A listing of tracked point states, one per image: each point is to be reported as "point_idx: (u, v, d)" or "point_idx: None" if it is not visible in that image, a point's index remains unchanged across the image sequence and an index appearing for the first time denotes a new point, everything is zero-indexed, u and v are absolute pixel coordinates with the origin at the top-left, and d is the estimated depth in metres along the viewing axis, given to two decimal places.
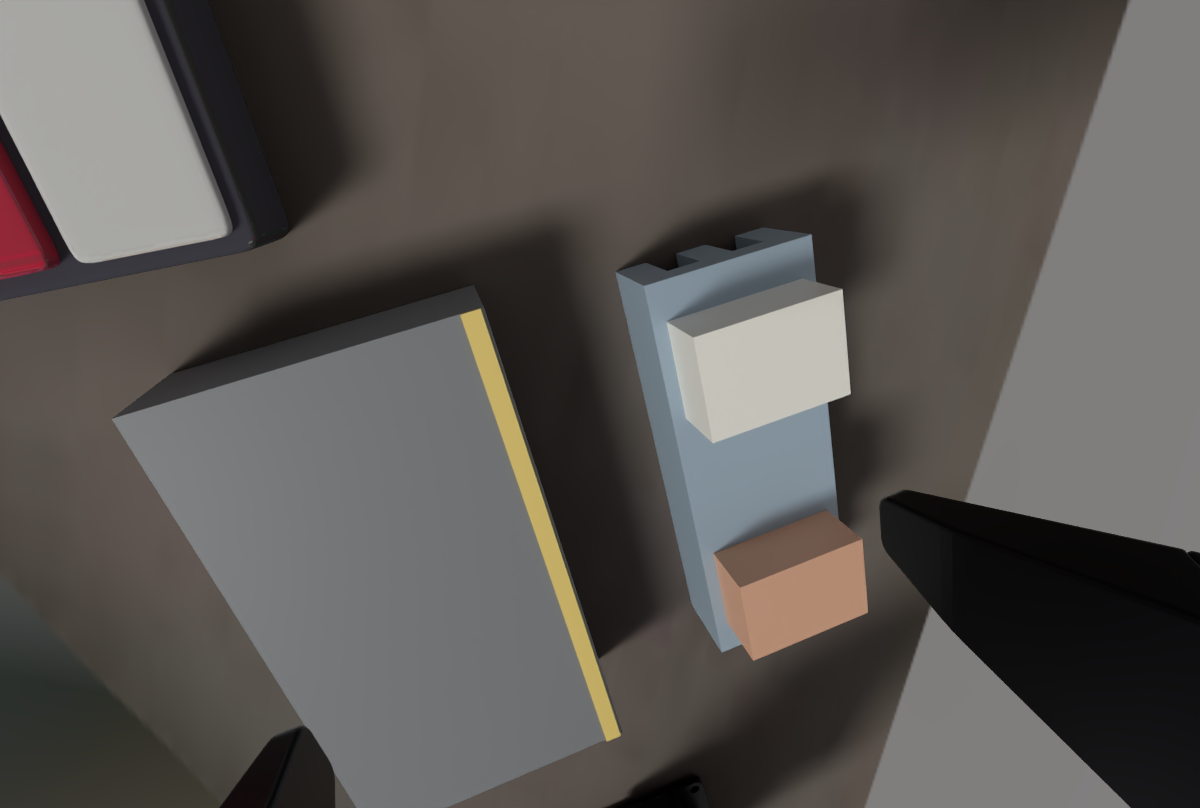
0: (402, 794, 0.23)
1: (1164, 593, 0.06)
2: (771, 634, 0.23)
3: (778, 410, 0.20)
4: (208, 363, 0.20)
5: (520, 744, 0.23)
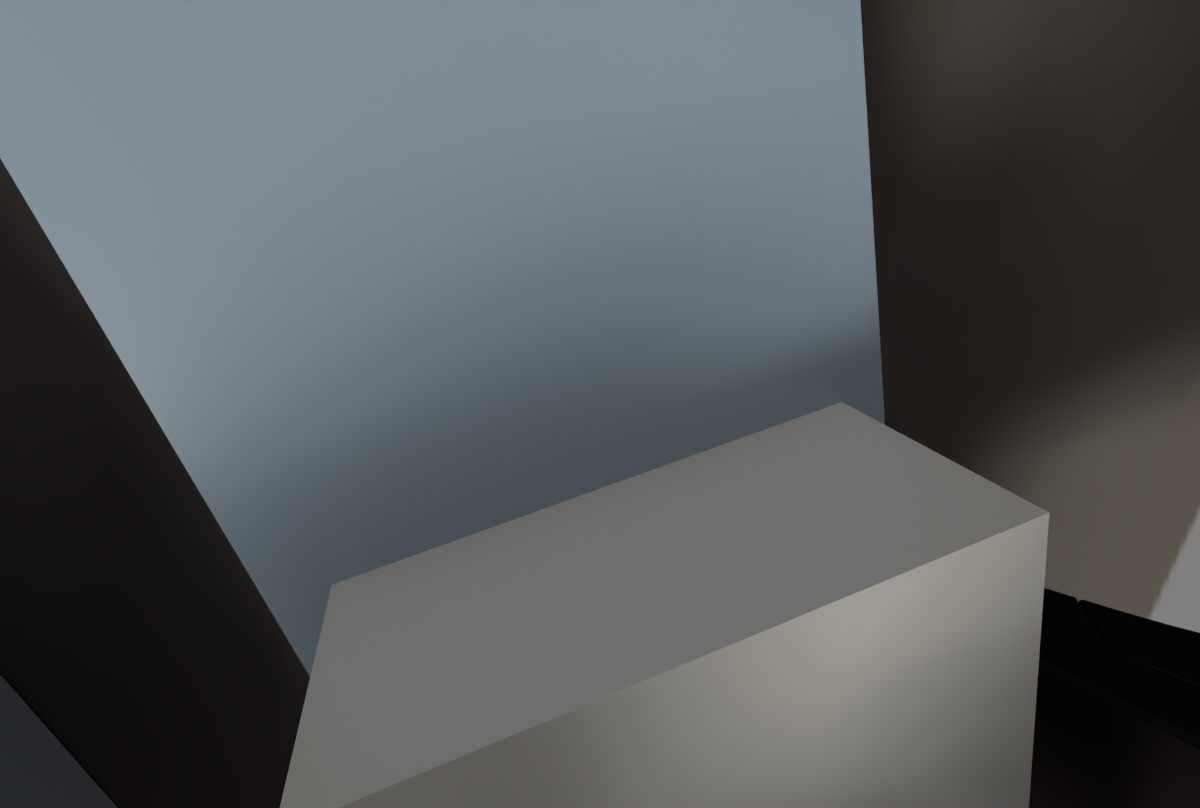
0: None
1: (1045, 647, 0.06)
2: None
3: None
4: None
5: None
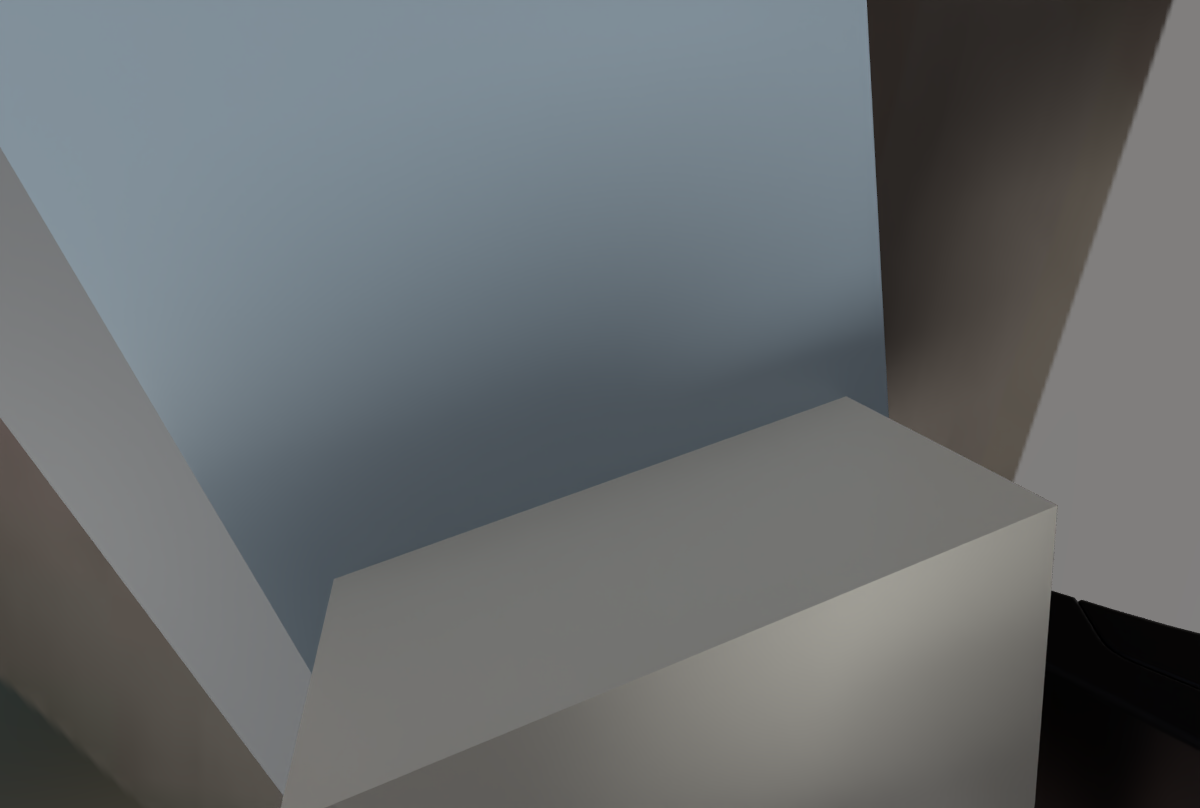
0: None
1: None
2: None
3: None
4: None
5: None
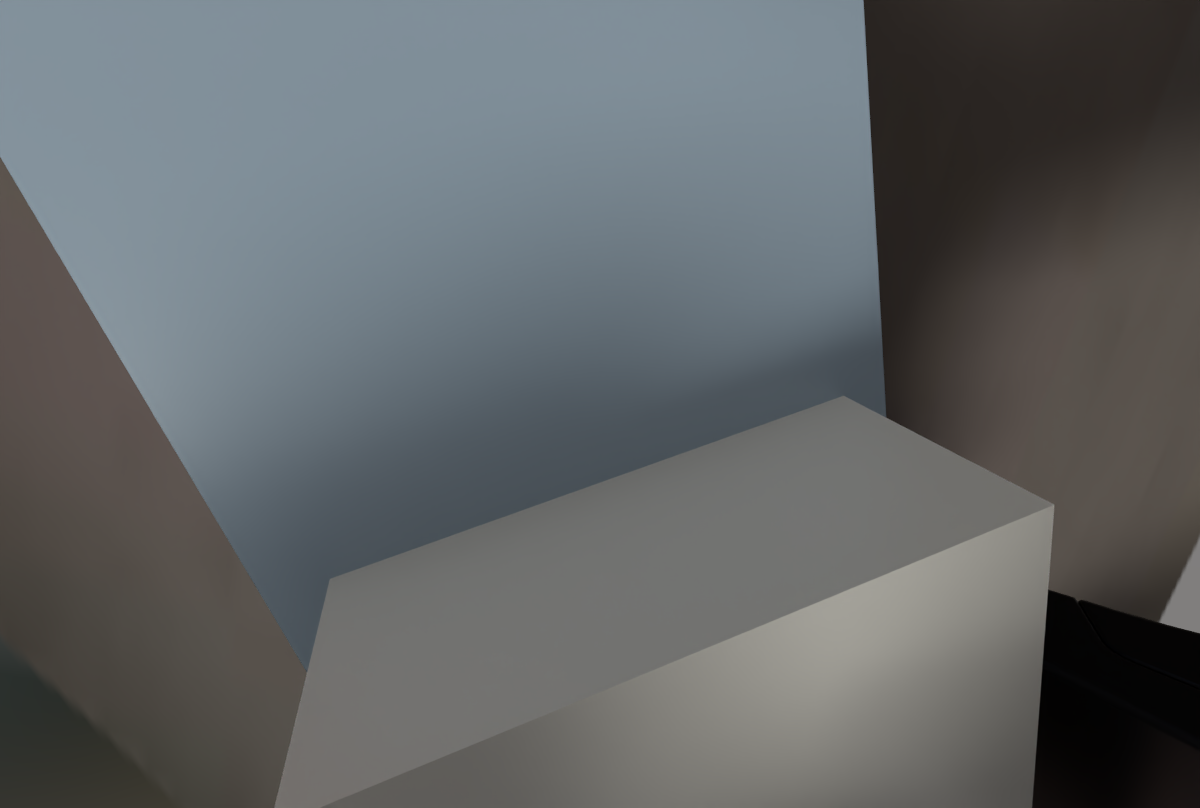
0: None
1: (1045, 647, 0.06)
2: None
3: None
4: None
5: None
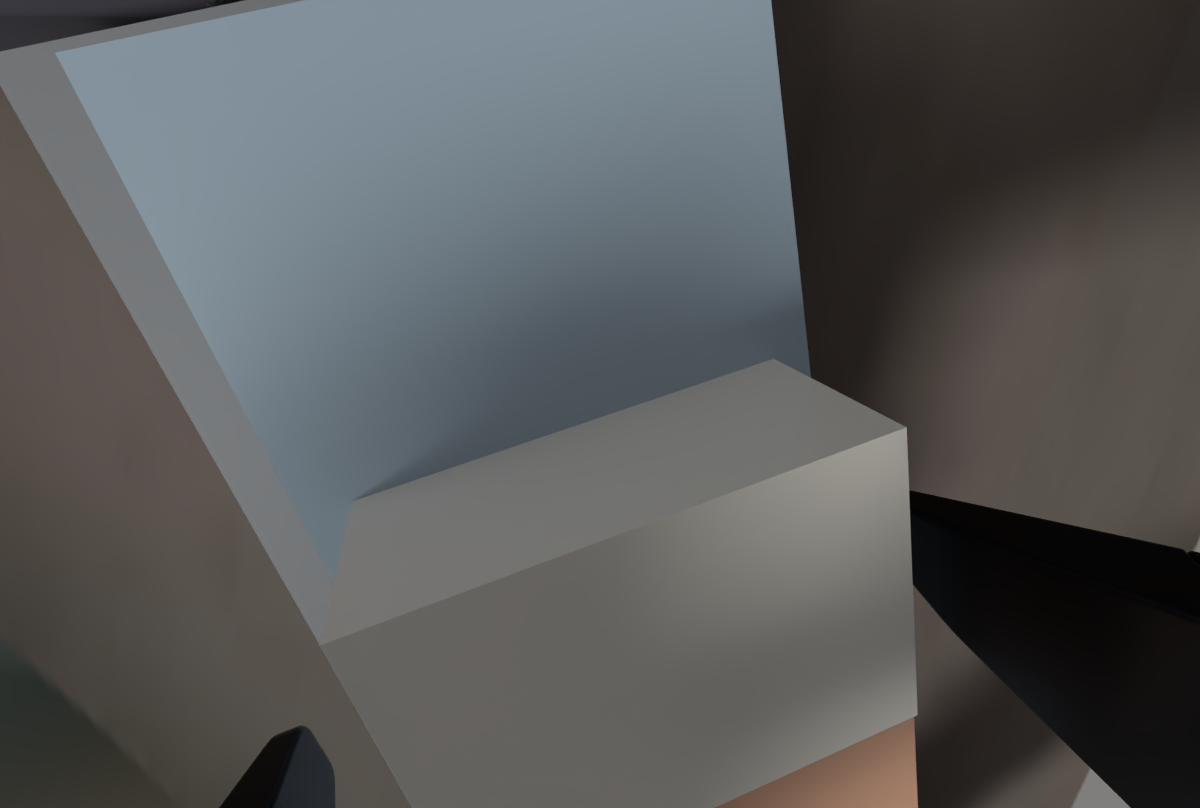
0: None
1: (1164, 593, 0.06)
2: None
3: (692, 794, 0.06)
4: None
5: None
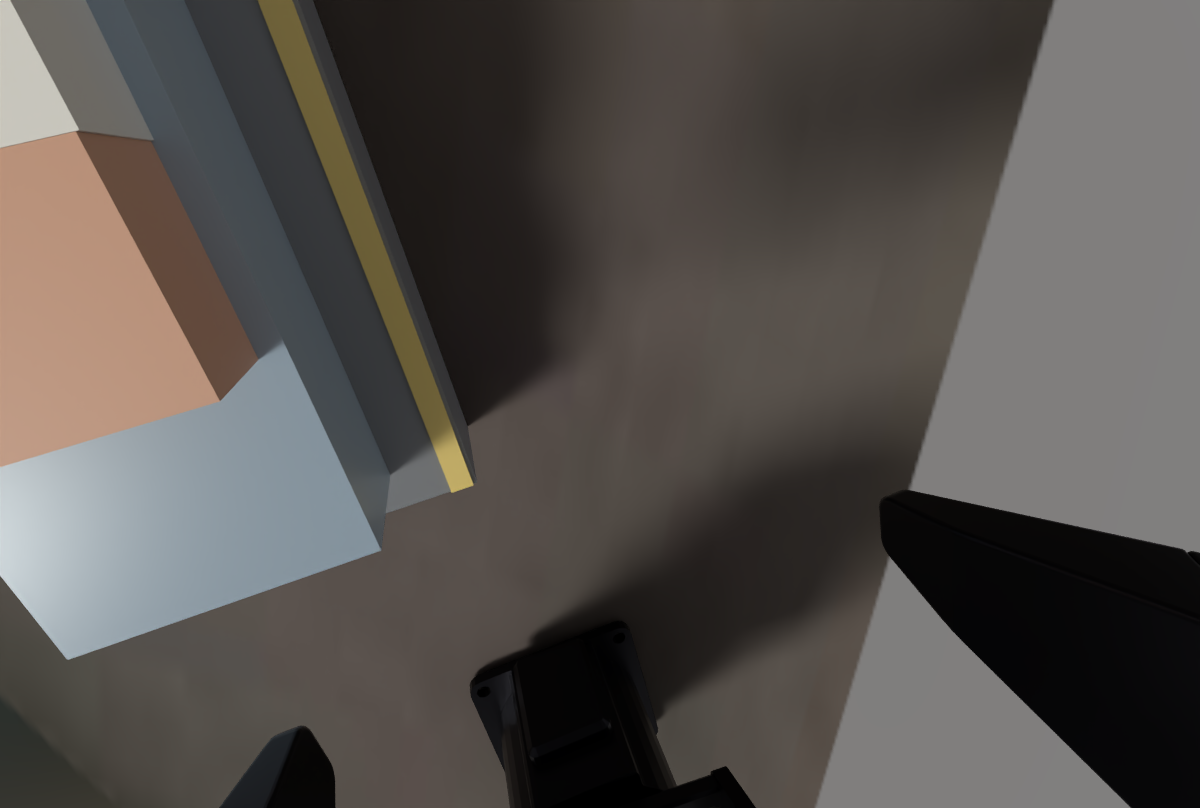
0: None
1: (1164, 593, 0.06)
2: None
3: None
4: None
5: None
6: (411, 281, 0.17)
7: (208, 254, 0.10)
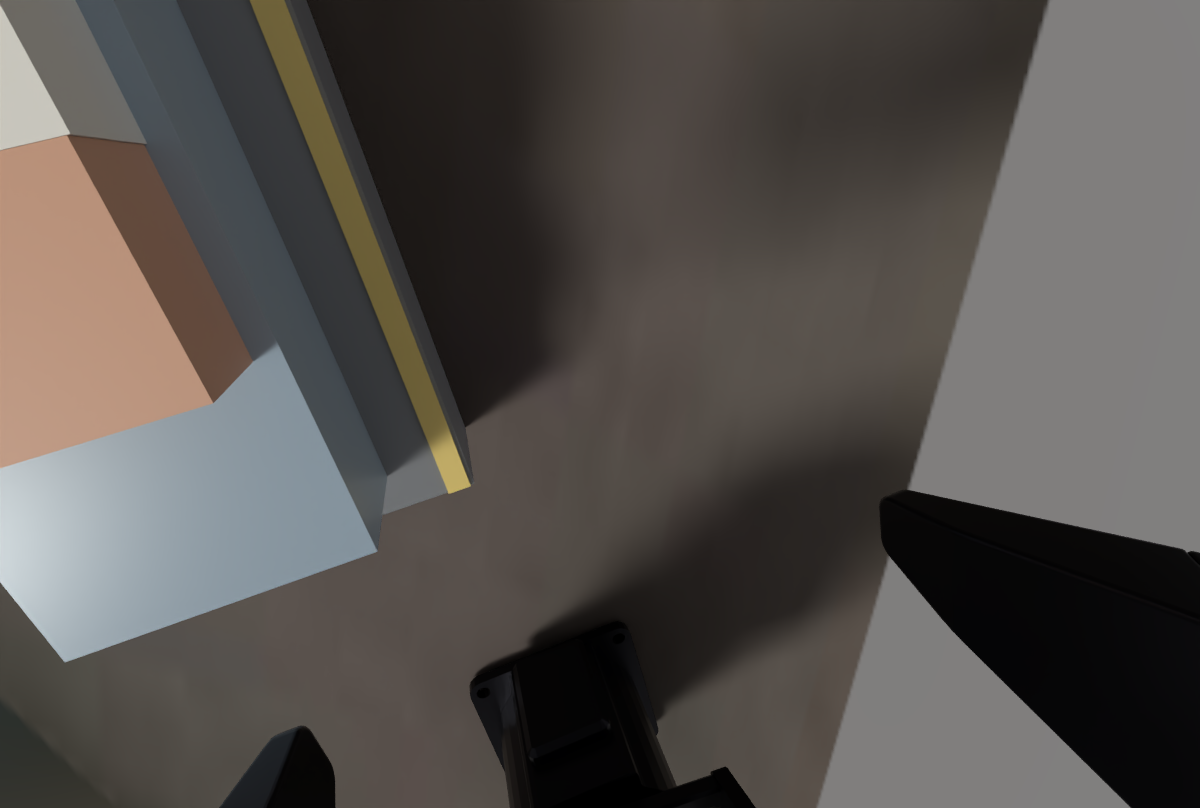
0: None
1: (1164, 593, 0.06)
2: None
3: None
4: None
5: None
6: (407, 283, 0.17)
7: (202, 257, 0.10)
